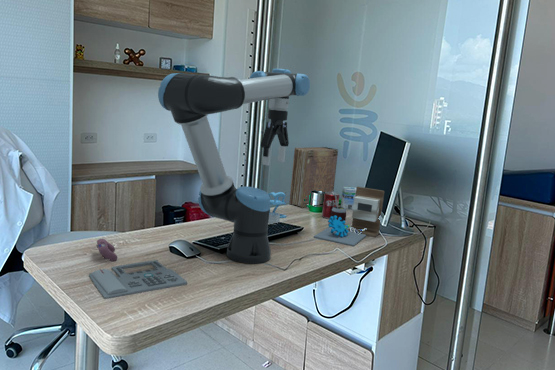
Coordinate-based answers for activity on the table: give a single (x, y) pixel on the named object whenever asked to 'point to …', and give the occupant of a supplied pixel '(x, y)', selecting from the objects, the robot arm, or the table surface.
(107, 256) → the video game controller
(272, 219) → the steel block
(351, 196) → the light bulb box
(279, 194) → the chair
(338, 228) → the gear
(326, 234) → the mat
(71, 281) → the table surface
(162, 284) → the office telephone
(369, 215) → the mounted unit
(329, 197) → the soda can
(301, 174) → the book
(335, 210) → the mate gourd
